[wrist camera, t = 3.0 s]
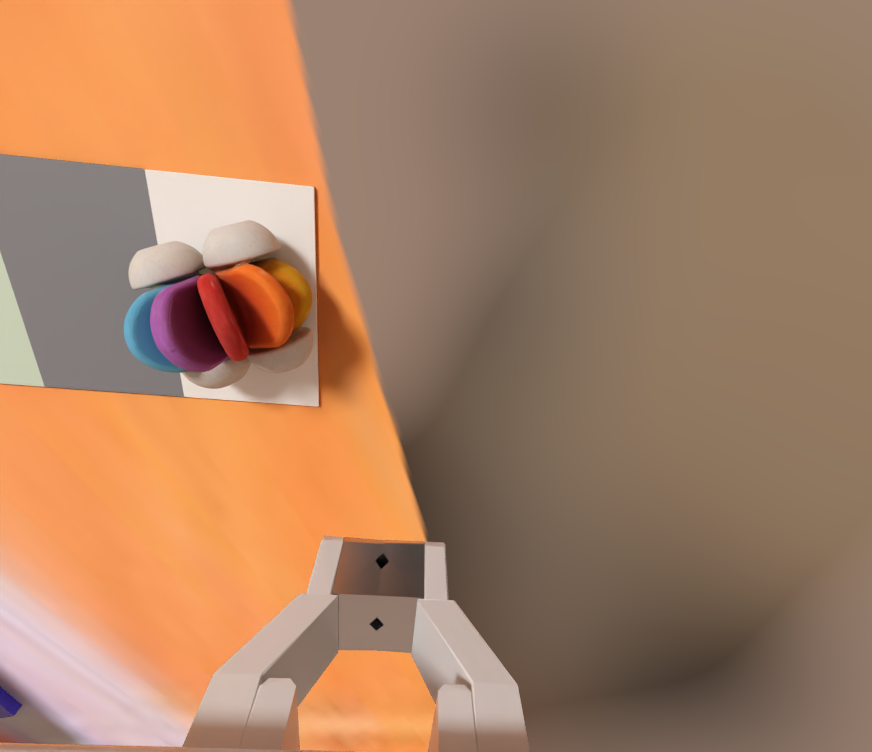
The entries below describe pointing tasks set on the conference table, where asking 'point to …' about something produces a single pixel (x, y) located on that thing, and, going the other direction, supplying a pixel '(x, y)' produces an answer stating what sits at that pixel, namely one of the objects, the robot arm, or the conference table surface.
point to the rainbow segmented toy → (218, 307)
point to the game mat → (126, 270)
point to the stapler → (8, 704)
